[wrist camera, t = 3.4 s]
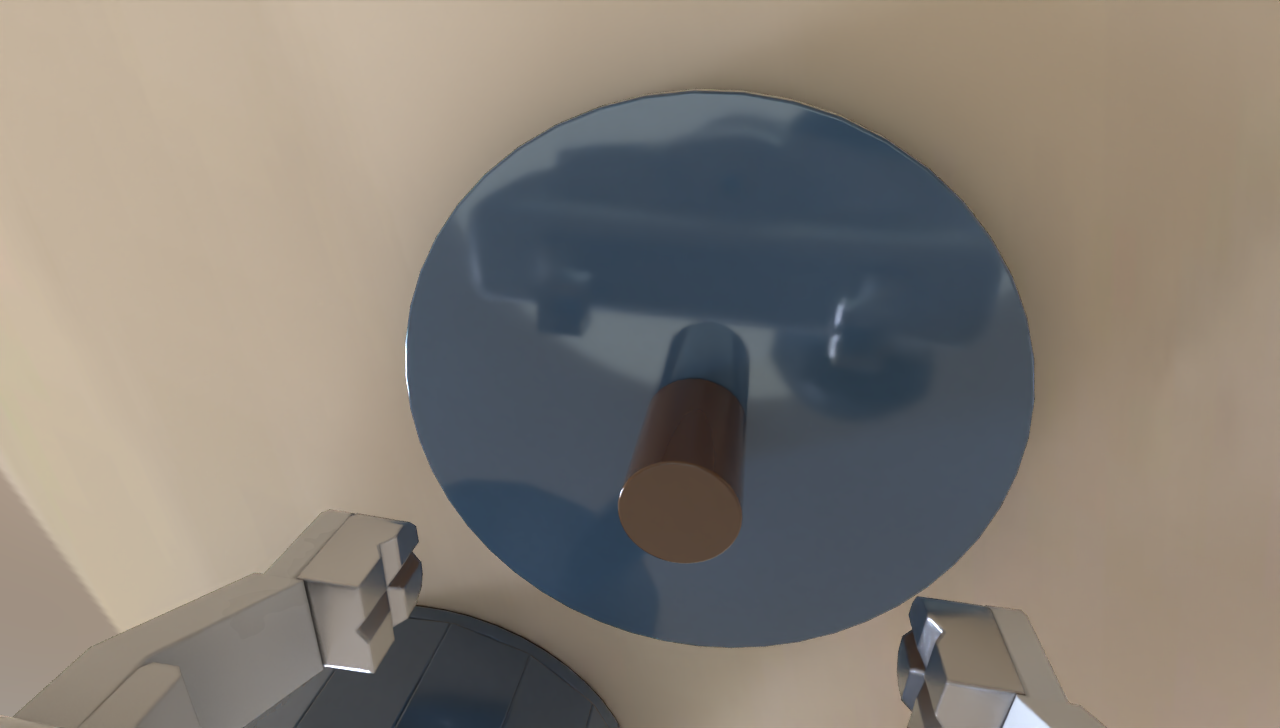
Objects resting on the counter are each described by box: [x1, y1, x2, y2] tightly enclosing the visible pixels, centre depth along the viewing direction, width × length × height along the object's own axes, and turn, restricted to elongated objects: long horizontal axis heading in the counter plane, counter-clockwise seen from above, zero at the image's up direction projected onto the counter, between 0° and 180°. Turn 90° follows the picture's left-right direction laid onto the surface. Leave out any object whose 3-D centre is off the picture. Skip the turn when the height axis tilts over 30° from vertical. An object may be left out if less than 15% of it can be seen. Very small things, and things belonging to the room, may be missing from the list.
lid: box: [406, 89, 1035, 648], centre depth 15 cm, size 15×15×5 cm
